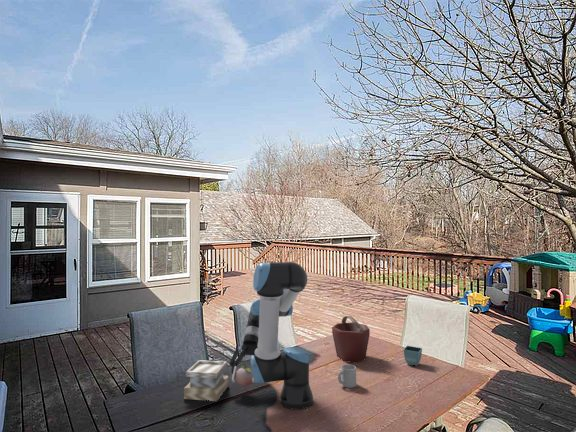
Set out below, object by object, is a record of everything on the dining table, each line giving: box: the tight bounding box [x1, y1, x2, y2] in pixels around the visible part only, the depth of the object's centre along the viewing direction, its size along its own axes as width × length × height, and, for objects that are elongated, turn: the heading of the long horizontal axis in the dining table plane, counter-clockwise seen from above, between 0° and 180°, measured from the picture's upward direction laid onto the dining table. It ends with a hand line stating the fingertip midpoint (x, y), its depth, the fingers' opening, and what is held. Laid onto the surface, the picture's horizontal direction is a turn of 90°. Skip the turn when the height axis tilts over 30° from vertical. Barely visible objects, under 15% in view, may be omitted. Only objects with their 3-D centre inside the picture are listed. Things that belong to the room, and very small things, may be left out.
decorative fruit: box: [235, 365, 253, 387], centre depth 164 cm, size 9×8×10 cm
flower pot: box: [403, 345, 423, 367], centre depth 201 cm, size 9×9×9 cm
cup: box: [337, 363, 357, 389], centre depth 173 cm, size 7×10×9 cm
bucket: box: [331, 315, 371, 363], centre depth 213 cm, size 24×22×25 cm
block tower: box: [183, 359, 229, 402], centre depth 166 cm, size 16×16×12 cm
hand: (243, 381), depth 161 cm, fingers closed on decorative fruit, 9 cm apart
